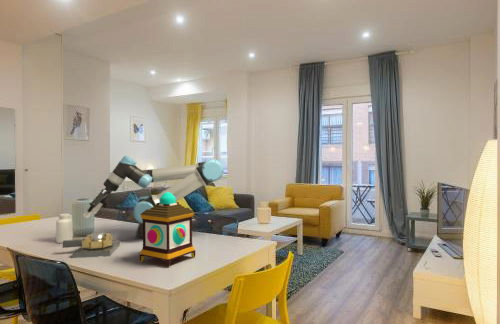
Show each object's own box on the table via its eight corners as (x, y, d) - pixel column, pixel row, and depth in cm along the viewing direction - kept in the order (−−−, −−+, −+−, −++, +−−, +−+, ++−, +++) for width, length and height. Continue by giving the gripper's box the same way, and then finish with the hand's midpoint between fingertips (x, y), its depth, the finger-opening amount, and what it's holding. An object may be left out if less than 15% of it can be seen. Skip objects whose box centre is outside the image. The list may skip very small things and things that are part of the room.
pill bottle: (65, 243, 179) (65, 215, 179) (52, 243, 181) (52, 215, 181) (76, 240, 187) (75, 213, 187) (63, 239, 188) (63, 212, 188)
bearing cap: (119, 245, 175) (119, 229, 175) (109, 256, 155) (109, 237, 155) (87, 246, 172) (87, 230, 172) (72, 257, 152) (72, 239, 152)
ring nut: (113, 240, 172) (113, 232, 172) (111, 247, 159) (111, 237, 159) (66, 244, 165) (65, 235, 165) (60, 251, 152) (60, 241, 152)
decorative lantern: (167, 251, 163) (167, 189, 163) (200, 257, 153) (199, 191, 152) (134, 262, 145) (133, 192, 145) (168, 269, 135) (167, 195, 135)
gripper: (113, 176, 192) (90, 207, 190) (101, 179, 168) (74, 214, 166) (124, 184, 193) (102, 214, 191) (113, 187, 168) (87, 222, 167)
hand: (89, 214), depth 179 cm, fingers open, 13 cm apart
